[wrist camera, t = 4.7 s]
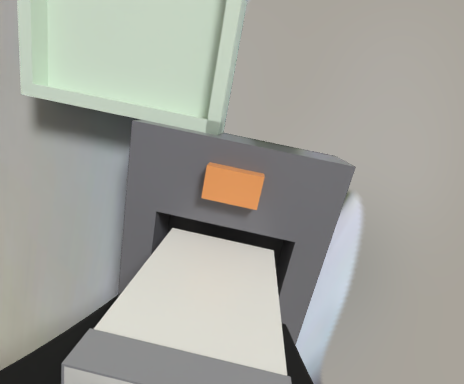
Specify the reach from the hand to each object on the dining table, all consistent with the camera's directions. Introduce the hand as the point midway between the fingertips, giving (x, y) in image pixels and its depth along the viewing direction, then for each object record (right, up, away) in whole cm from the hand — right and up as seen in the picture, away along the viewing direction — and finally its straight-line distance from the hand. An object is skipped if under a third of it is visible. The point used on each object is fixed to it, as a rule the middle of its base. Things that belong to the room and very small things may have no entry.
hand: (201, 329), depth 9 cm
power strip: (-1, -7, +7) cm, 10 cm away
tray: (-3, +12, +2) cm, 12 cm away
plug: (0, +1, +2) cm, 2 cm away
